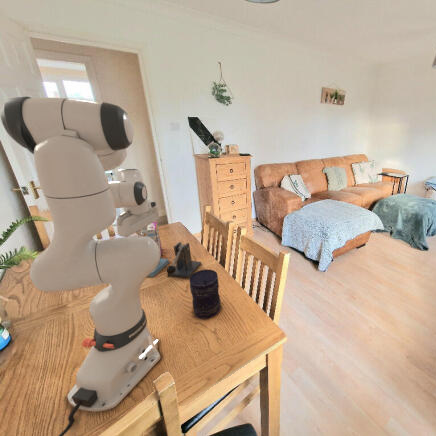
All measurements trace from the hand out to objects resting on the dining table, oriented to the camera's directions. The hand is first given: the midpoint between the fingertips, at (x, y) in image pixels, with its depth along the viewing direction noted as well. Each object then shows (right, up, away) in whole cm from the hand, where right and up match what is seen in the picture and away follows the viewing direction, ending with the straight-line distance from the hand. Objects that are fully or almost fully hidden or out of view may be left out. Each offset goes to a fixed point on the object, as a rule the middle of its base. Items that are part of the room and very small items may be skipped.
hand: (142, 236), depth 105 cm
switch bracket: (+14, -17, +10) cm, 24 cm away
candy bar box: (-6, -11, +21) cm, 25 cm away
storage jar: (+33, -27, -13) cm, 45 cm away
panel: (-2, -16, +10) cm, 19 cm away
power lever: (+14, -11, +3) cm, 18 cm away
